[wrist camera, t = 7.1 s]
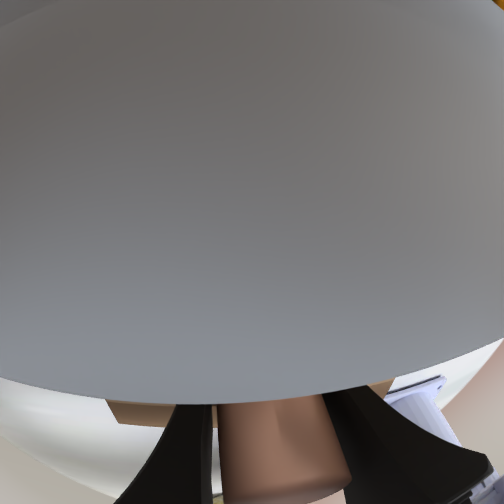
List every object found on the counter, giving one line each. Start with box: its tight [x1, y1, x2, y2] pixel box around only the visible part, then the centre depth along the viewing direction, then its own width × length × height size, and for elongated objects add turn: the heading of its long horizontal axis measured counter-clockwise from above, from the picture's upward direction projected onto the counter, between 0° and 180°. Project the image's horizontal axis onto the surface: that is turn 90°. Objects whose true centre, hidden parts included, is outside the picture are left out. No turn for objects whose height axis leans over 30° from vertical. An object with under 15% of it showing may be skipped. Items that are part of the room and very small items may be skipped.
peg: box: [216, 394, 352, 504], centre depth 9 cm, size 4×4×8 cm
